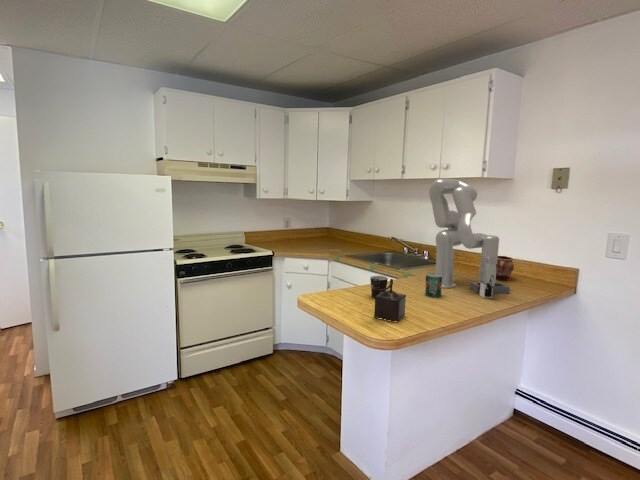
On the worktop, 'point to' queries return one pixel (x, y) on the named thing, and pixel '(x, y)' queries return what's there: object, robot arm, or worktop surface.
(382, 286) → the coffee mug
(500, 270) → the decorative planter
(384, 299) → the manual coffee grinder
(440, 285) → the canned tomato
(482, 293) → the block
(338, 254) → the worktop surface
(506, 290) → the power strip
